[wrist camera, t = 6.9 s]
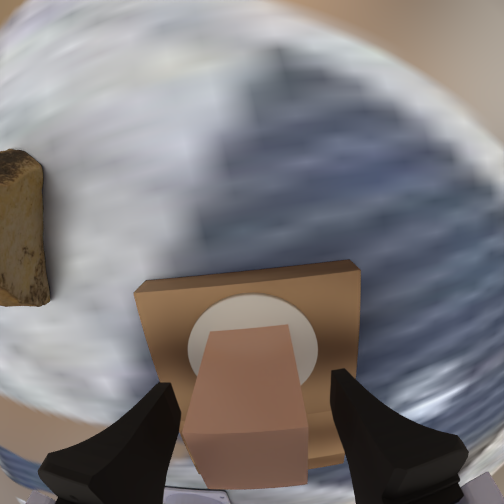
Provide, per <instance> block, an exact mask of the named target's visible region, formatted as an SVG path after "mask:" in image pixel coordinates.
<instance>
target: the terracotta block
mask: <svg viewBox="0 0 504 504" xmlns="http://www.w3.org/2000/svg"><path fill="white" fill-rule="evenodd" d="M182 434H183V436H184V439H185V441H186V443H187V446H188V448H189V450H190V452H191V455H192V457H193V459H194V461H195V463H196V465H197V467H198V469H199V472H200V474H201V476H202V478H203V480H204V482H205V484H206V486H207V488H208V489H263V488H277V487H288V486H297V485H305V484H307V478H308V422H307V417H306V411H305V406H304V401H303V396H302V391H301V385H300V380H299V375H298V370H297V365H296V360H295V355H294V350H293V346H292V341H291V336H290V331H289V326H288V324H286V325H277V326H267V327H257V328H247V329H235V330H223V331H210V333H209V336H208V340H207V343H206V347H205V350H204V354H203V357H202V361H201V365H200V368H199V372H198V375H197V379H196V383H195V386H194V390H193V394H192V397H191V401H190V405H189V409H188V412H187V416H186V420H185V424H184V427H183V431H182Z"/></svg>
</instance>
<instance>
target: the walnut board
mask: <svg viewBox="0 0 504 504" xmlns="http://www.w3.org/2000/svg"><path fill="white" fill-rule="evenodd" d="M253 292H255V293H265V294H270V295H274V296H277V297H280V298H282V299H284V300H286V301H288V302H290V303H292V304H293V305H295V306H296V307H297V308H298V309H300V310H301V311H302V312H303V313H304V315H305V316H306V317H307V318H308V320H309V322H310V323H311V325H312V327H313V330H314V333H315V335H316V339H317V344H318V356H317V360H316V364H315V366H314V369H313V371H312V373H311V374H310V376H309V377H308V378H307V380H306V381H305V382H304V383H303V384H302V385H301V391H302V396H303V401H304V406H305V411H306V417H307V422H308V469H313V468H319V467H325V466H331V465H336V464H341V463H343V462H344V456H345V452H344V449H343V446H342V443H341V440H340V438H339V435H338V432H337V429H336V426H335V424H334V421H333V416H332V411H331V407H330V386H331V370H336V369H342V368H345V369H346V370H347V371H348V372H349V373H350V374H351V375H352V376H353V377H354V378H356V368H357V356H358V341H359V323H360V292H361V270H360V269H359V268H358V267H357V266H356V265H355V264H354V263H353V262H352V261H351V260H341V261H332V262H324V263H315V264H306V265H297V266H288V267H279V268H270V269H260V270H251V271H241V272H231V273H221V274H211V275H201V276H190V277H180V278H169V279H158V280H146V281H145V282H144V283H143V284H142V285H141V286H140V287H139V288H138V289H137V290H136V291H135V292H134V297H135V301H136V305H137V309H138V313H139V316H140V320H141V323H142V327H143V330H144V334H145V337H146V341H147V344H148V347H149V350H150V353H151V357H152V360H153V363H154V366H155V369H156V372H157V375H158V377H159V380H160V382H170V383H171V384H172V387H173V390H174V393H175V396H176V399H177V402H178V404H179V407H180V410H181V413H182V414H181V422H180V428H179V432H180V434H181V437H182V439H183V441H184V444H185V446H186V448H187V450H188V452H189V455H190V457H191V459H192V461H193V463H194V465H195V467H196V469H197V472H198V474H200V472H199V469H198V467H197V465H196V463H195V461H194V459H193V457H192V455H191V452H190V450H189V448H188V446H187V443H186V441H185V439H184V436H183V434H182V431H183V427H184V424H185V420H186V416H187V412H188V409H189V405H190V401H191V397H192V394H193V390H194V386H195V383H196V379H197V376H196V374H195V373H194V371H193V369H192V367H191V364H190V361H189V357H188V341H189V337H190V334H191V331H192V329H193V327H194V325H195V322H196V321H197V319H198V318H199V316H200V315H201V314H202V313H203V312H204V311H205V310H206V309H207V308H208V307H209V306H211V305H212V304H214V303H215V302H217V301H219V300H221V299H223V298H226V297H228V296H232V295H235V294H241V293H253Z"/></svg>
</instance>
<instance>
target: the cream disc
mask: <svg viewBox="0 0 504 504" xmlns="http://www.w3.org/2000/svg"><path fill="white" fill-rule="evenodd" d="M286 324H288V326H289V331H290V336H291V341H292V346H293V350H294V355H295V360H296V365H297V370H298V375H299V380H300V385H302V384H303V383H304V382H305V381H306V380H307V378H308V377H309V376H310V374H311V373H312V371H313V369H314V366H315V364H316V360H317V356H318V344H317V339H316V335H315V333H314V330H313V327H312V325H311V323H310V322H309V320H308V318H307V317H306V316H305V315H304V313H303V312H302V311H301V310H300V309H298V308H297V307H296V306H295V305H293V304H292V303H290V302H288V301H286V300H284V299H282V298H280V297H277V296H274V295H270V294H265V293H255V292H253V293H241V294H235V295H232V296H228V297H226V298H223V299H221V300H219V301H217V302H215V303H214V304H212V305H211V306H209V307H208V308H207V309H206V310H205V311H204V312H203V313H202V314H201V315H200V316H199V318H198V319H197V321H196V322H195V325H194V327H193V329H192V331H191V334H190V337H189V341H188V357H189V361H190V364H191V367H192V369H193V371H194V373H195V374H196V376H197V375H198V372H199V368H200V365H201V361H202V357H203V354H204V350H205V347H206V343H207V340H208V336H209V333H210V331H223V330H235V329H247V328H257V327H267V326H277V325H286Z"/></svg>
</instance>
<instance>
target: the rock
mask: <svg viewBox="0 0 504 504" xmlns="http://www.w3.org/2000/svg"><path fill="white" fill-rule="evenodd" d="M42 186H43V171H42V167H41V165H40V164H39V163H38V162H37V161H36V160H35V159H34V158H32V157H31V156H30V155H28V154H27V153H26V152H24V151H21V150H13V149H8V150H6V151H0V306H5V307H8V306H37V307H40V306H42V305H45V304H47V303H49V302H50V292H49V285H48V282H47V274H46V266H45V254H44V249H43V200H42Z"/></svg>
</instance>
